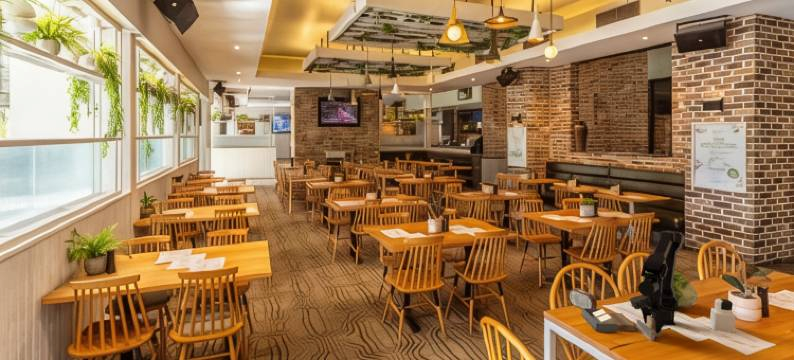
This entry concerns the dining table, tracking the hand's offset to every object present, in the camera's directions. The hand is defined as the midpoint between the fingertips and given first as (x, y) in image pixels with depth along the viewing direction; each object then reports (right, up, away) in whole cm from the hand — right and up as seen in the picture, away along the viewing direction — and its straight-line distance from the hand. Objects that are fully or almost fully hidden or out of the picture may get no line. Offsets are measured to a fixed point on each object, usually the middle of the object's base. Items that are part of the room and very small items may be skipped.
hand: (651, 328), depth 195 cm
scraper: (+1, -3, 0) cm, 3 cm away
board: (-9, -2, +11) cm, 14 cm away
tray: (-17, -1, +11) cm, 20 cm away
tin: (-17, 0, +30) cm, 34 cm away
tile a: (-14, 0, +14) cm, 20 cm away
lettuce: (+26, 0, +34) cm, 43 cm away
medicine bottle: (+33, -3, +8) cm, 34 cm away
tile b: (-15, 0, +8) cm, 17 cm away
